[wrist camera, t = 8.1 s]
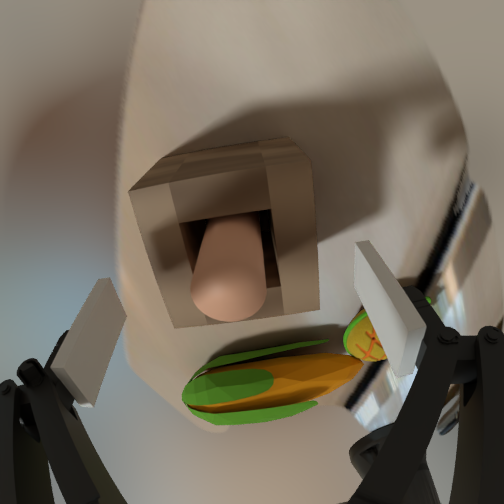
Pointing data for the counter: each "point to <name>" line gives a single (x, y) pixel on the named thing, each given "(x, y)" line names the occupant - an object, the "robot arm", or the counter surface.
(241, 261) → the peg
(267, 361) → the corn
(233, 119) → the counter surface
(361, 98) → the counter surface
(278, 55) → the counter surface
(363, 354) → the toy pineapple
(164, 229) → the socket block
